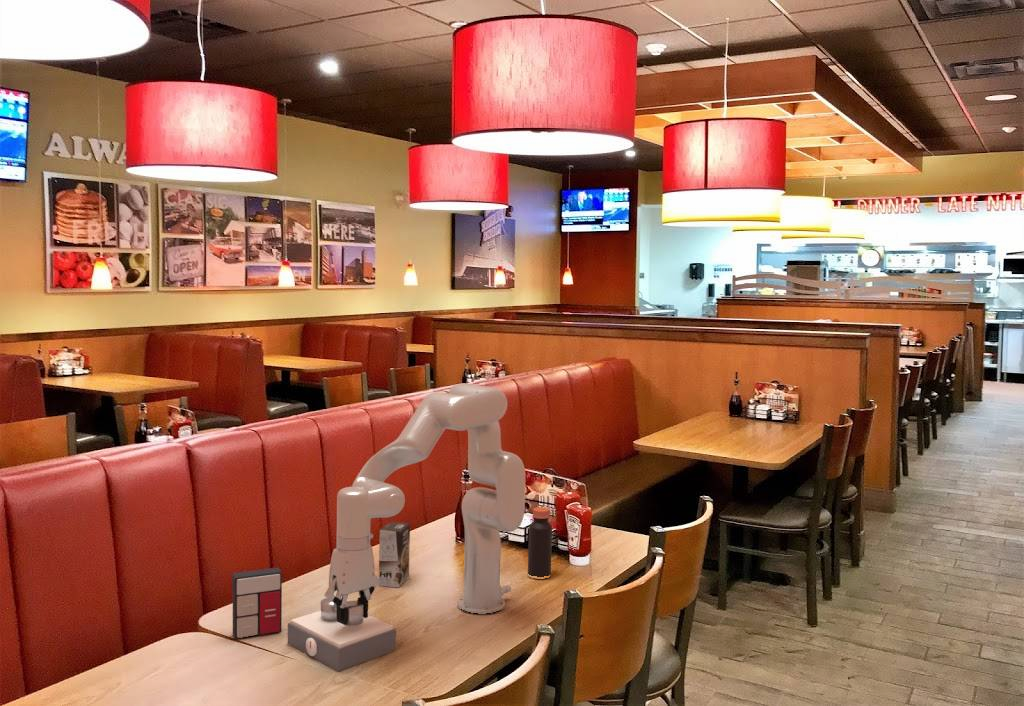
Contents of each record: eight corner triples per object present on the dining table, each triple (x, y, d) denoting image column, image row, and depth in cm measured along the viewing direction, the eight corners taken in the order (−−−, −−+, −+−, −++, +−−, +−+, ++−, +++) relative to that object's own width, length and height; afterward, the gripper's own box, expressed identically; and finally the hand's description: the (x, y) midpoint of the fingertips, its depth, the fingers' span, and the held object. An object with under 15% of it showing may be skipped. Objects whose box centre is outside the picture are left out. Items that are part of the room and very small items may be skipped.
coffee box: (399, 588, 242) (400, 531, 241) (377, 586, 244) (378, 529, 242) (410, 577, 251) (411, 522, 250) (388, 575, 252) (389, 520, 251)
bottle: (554, 575, 256) (557, 508, 255) (543, 581, 251) (545, 513, 249) (535, 570, 260) (537, 505, 258) (523, 577, 254) (525, 509, 252)
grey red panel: (235, 640, 205) (235, 578, 203) (231, 634, 208) (232, 573, 207) (282, 633, 210) (282, 572, 208) (278, 626, 213) (278, 567, 212)
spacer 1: (328, 612, 208) (328, 596, 208) (346, 615, 206) (346, 598, 206) (316, 620, 204) (316, 603, 203) (335, 622, 202) (334, 606, 201)
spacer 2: (354, 615, 203) (354, 599, 203) (367, 621, 200) (368, 604, 199) (336, 621, 199) (337, 604, 199) (350, 627, 196) (350, 610, 196)
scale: (343, 625, 215) (344, 602, 215) (395, 650, 202) (395, 626, 201) (285, 644, 203) (285, 620, 203) (336, 672, 190) (336, 646, 189)
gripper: (373, 531, 207) (372, 605, 208) (312, 545, 194) (311, 625, 196) (393, 538, 202) (391, 614, 203) (331, 553, 189) (331, 634, 191)
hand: (352, 618), depth 199 cm, fingers closed on spacer 2, 5 cm apart
